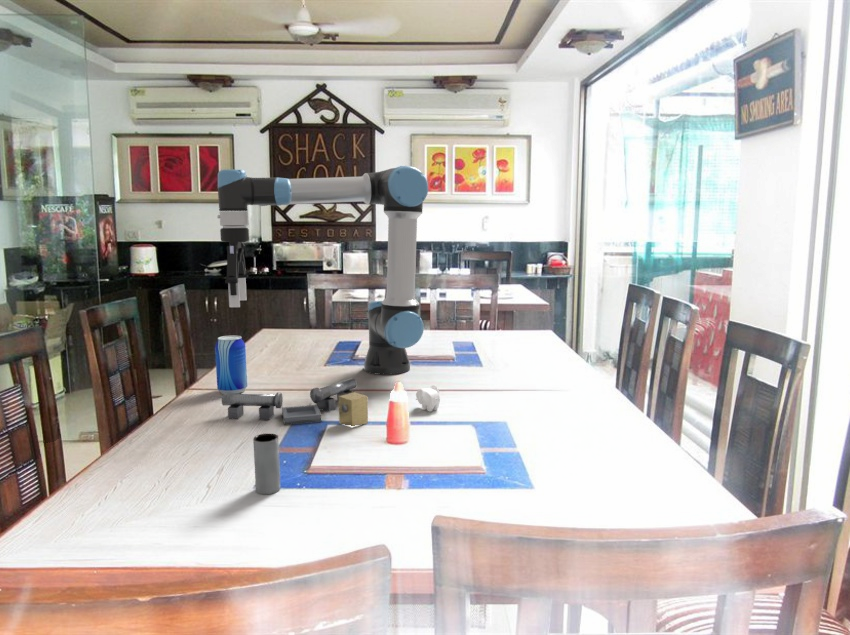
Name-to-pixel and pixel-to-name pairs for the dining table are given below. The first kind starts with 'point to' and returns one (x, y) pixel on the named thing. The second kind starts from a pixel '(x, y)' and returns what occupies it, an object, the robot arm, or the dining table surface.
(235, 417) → the shaft
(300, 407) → the grey square tray
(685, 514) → the dining table surface
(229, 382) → the beer can
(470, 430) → the dining table surface
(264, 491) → the grey hollow tube
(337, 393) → the shaft
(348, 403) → the block
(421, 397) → the elephant figurine
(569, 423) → the dining table surface
